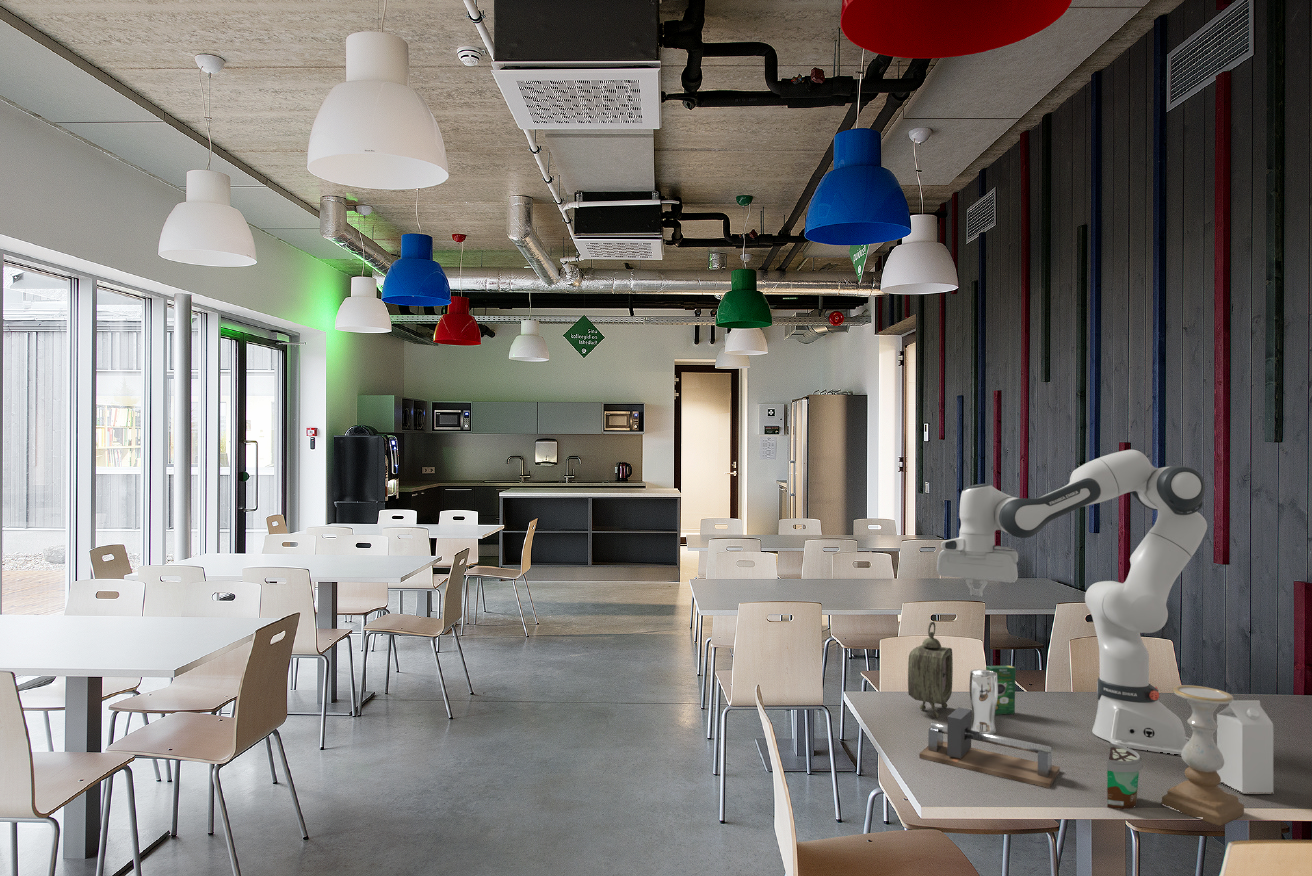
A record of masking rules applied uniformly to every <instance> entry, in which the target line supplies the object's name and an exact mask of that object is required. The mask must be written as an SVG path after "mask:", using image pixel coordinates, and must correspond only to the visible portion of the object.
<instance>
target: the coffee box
mask: <svg viewBox="0 0 1312 876" xmlns="http://www.w3.org/2000/svg"><path fill="white" fill-rule="evenodd" d="M985 670H989V671H993V672H995V673H997V679H998V698H997V704H996V709H995V716H998V715H1014V714H1015V711H1016V709H1015V708H1016V672H1017V671H1016V670H1017V669H1016V667H1015V666H1013V665H986V666H985Z"/></svg>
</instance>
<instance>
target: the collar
mask: <svg viewBox="0 0 1312 876" xmlns="http://www.w3.org/2000/svg"><path fill="white" fill-rule="evenodd" d="M971 724H972V709H971V708H964V707H959V706H958V707H957V708H956V709H955V710H953V711H952V712H951V713H950V714H949V715H947V725H948V734H946V735H947V740H946V742H947V756H952V757H956V758H960V759H961V758H962V757H963V756H964V754H965V753H966V752H967V751H968V750H969V749H970V748H972V739H968V738H965V729H968V730H971Z"/></svg>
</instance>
